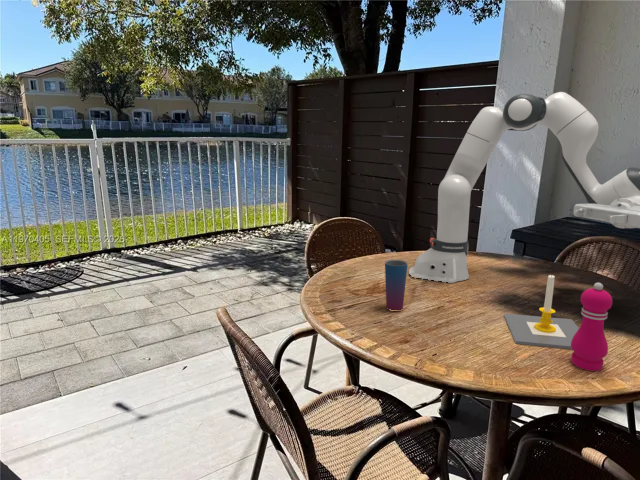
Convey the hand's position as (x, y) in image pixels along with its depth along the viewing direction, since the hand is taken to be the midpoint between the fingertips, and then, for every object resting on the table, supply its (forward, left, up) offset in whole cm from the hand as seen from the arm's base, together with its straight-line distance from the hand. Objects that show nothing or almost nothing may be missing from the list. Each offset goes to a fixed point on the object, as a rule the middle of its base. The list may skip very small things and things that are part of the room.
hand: (592, 216), depth 118 cm
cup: (-53, -7, -30) cm, 62 cm away
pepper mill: (-7, -30, -30) cm, 43 cm away
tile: (-12, -14, -30) cm, 35 cm away
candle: (-12, -14, -29) cm, 35 cm away
